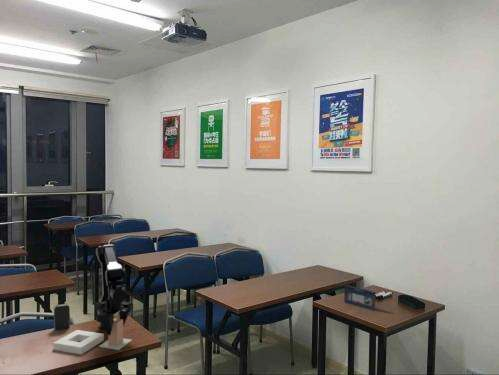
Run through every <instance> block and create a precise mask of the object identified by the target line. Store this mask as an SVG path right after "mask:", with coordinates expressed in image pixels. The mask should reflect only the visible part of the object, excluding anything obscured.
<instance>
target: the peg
mask: <svg viewBox="0 0 499 375" xmlns="http://www.w3.org/2000/svg"><path fill="white" fill-rule="evenodd" d="M113 320H114V323H113V327H112V332H111V335H108V334H107V337H108V339H107V341H108V344H110V345H119V344H120V343H122V342H123V338H124V326H123V319H120V318H115V317H114V319H113Z"/></svg>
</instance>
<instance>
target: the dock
mask: <svg viewBox="0 0 499 375" xmlns="http://www.w3.org/2000/svg"><path fill="white" fill-rule="evenodd" d="M104 339H105V334H104V333H99V332H95V331H94V332H93V331H86V330H83V329H82V330H79V329H76V330H74V331H72V332H71V333H69V334H66V335H65V336H63V337H61V338H60V339H58V340H56V341H54V342H52V345H53V346H52V350H53V351H59V352H65V353H70V354H74V355H75V354H77V355H83V354H85V353H86V352H88V351H89V350H91V349H93V348H94V347H96V346H97V345H99V344H100V343H102V342H105V340H104Z"/></svg>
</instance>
